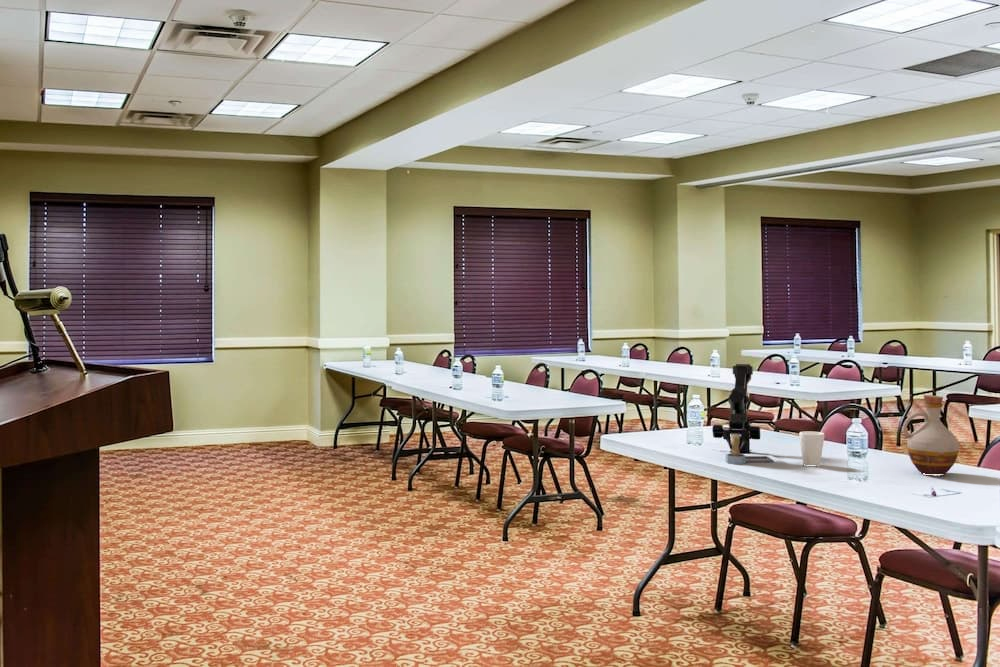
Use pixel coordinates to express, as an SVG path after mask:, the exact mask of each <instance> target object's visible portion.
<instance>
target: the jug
mask: <svg viewBox="0 0 1000 667" xmlns="http://www.w3.org/2000/svg"><path fill="white" fill-rule="evenodd" d="M943 399H944V396H940V395H931V394H923V400H924V402H923V407H924V408H925V412H924V411H915V412H914V413H911V414H910V415H909V416H908V417H907V418H906V419H905V420H904V422H903V424H902V432H903V435H904V436H905V437H907V438H908V439H907V442H906V447H907V448H906V450H907V453H908V457H909V459H910V461H911V463H912V464H913V466H914V467H915V468H916V470H917V471H918V472H919V473H920V472H921V473H925V474H945V475H946V473H948V472H949V471H950V469H951V468H952V467H954V465H955V463H956V460H957V459H958V456H959V452H960V451H959V450H960V443H959V441H958V438H957V437H956V435H955V434H954V433H952V431H951V430H949V428H948V427H946V426H945V425H944V424H943V422H941V410H942V408H943V406H944V404H943ZM919 416H922V417H923V418H924V422H923V423H922V424H921V425H920V426H919V427H917V428H916V429H915V430H914V431H913V432H911V433H908V431H907V430H908V425H909V423H910V422H911V421H912V420H913V419H915V418H916V417H919ZM921 473H920V474H921Z"/></svg>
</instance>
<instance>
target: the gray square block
mask: <svg viewBox="0 0 1000 667" xmlns="http://www.w3.org/2000/svg"><path fill="white" fill-rule="evenodd" d="M745 456H746V455H745V454H744V453H740V456H731V453H727V454H725V463H726V464H730V465H743V464H746V462H745Z"/></svg>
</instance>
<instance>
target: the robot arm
mask: <svg viewBox="0 0 1000 667" xmlns="http://www.w3.org/2000/svg"><path fill="white" fill-rule="evenodd" d="M732 375H733V376H734V379H735V381H734V388H732V390H731V392H730V394H729V396H728V399H727V402H728V404H729V408H730V413H729V419H728V426H723V424H713V425H712V428H711V429H712V437H713V438H716V439H722V438H723V440H726V442H727V445H728V447H729V450H731V435H740V444H739V450H740V454H751V453H752V451H751V450H750V445H751V443H750V440H757V441H758V440H761V427H760V426H758V425H752V424H751V422H750V419H749V418H748V413H747V410H748V409H747V408H748V405H749V403H750V397H749V395H748V384H749V383H750V382H751V380H752V375H754V367H753V366H751V364H750V363H736V365H733V366H732Z"/></svg>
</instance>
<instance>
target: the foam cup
mask: <svg viewBox="0 0 1000 667" xmlns="http://www.w3.org/2000/svg"><path fill="white" fill-rule="evenodd" d="M798 435H799V437H798V438H799V440H800V449H801V457H802V464H805V465H820V466H821V461H822V454H823V447H824V441H825V433H824V432H821V431H811V430H810V431H806V430H805V431H800V432H799V434H798Z"/></svg>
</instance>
